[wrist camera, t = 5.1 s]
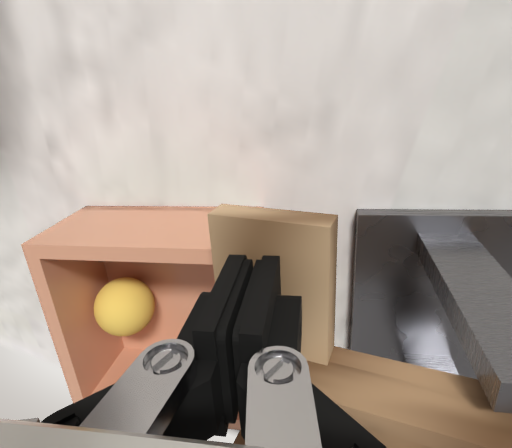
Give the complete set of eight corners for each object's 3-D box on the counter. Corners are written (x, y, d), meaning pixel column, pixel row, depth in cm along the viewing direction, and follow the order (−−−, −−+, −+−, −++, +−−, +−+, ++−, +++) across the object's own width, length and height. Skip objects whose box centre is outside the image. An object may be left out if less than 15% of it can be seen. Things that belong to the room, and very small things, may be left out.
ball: (101, 306, 18) (78, 282, 20) (114, 358, 19) (91, 330, 21) (160, 280, 20) (133, 261, 22) (169, 329, 21) (143, 306, 23)
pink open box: (263, 206, 19) (244, 250, 15) (271, 360, 23) (258, 431, 19) (85, 206, 21) (20, 244, 17) (120, 348, 25) (76, 411, 21)
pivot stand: (536, 210, 17) (771, 372, 8) (495, 376, 21) (624, 612, 12) (356, 209, 19) (387, 346, 10) (349, 365, 22) (365, 569, 13)
